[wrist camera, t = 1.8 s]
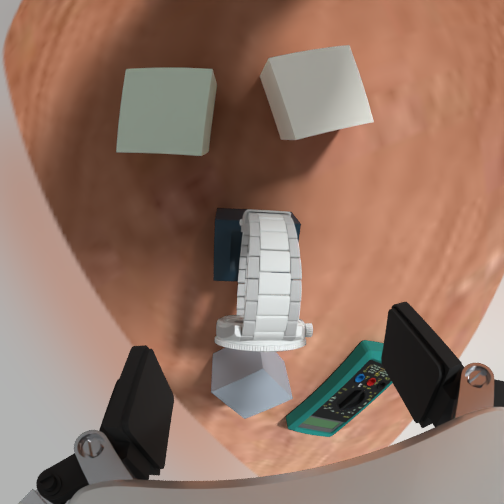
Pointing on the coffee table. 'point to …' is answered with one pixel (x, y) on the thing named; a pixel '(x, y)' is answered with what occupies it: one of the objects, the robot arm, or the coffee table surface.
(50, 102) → the coffee table surface
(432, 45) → the coffee table surface
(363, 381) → the digital multimeter
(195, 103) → the sage cube
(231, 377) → the slate cube
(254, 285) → the watch
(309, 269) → the coffee table surface
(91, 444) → the robot arm
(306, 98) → the cream cube
